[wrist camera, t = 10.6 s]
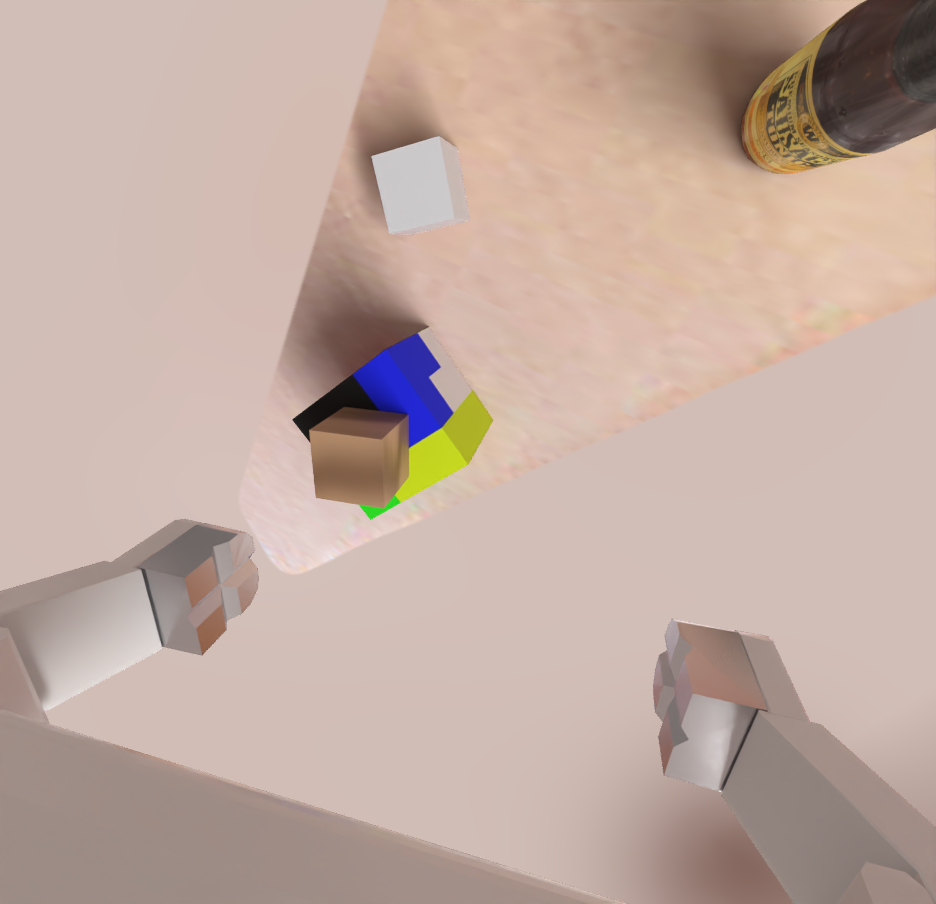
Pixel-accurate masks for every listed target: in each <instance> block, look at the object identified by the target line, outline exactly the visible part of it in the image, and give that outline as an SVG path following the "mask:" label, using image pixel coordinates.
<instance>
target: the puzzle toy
mask: <svg viewBox="0 0 936 904" xmlns="http://www.w3.org/2000/svg"><path fill="white" fill-rule="evenodd" d="M343 407H350V408H359V409H367V410H375V411H384V412H392V413H400V414H409V477H408V479H407V480H406V481H405V482H404V484H403V485H402V486H401V488H400V489H399V490H398V491H397V493H396V494H395V495H394V497H393V498H392V499H391V500H390V502H389V503H388V504H387V505H386V507H385V508H384V509H383V508H377V507H371V506H364V505H359V506H360V507H361V508H362V509H363V511H364V512H365V513H366V514H367V516H368V517H369V518H370V520H371V519H373V518H375V517H376V516H378V515H380V514H382V513H384V512H385V511H387V510H389V509H391V508H392V507H394V506H396V505H398V504H400V503H401V502H403V501H405V500H407V499H408V498H410V497H412V496H414V495H415V494H417V493H419V492H421V491H423V490H424V489H426V488H428V487H430V486H431V485H433V484H435V483H437V482H438V481H440V480H442V479H444V478H446V477H447V476H449V475H451V474H453V473H454V472H456V471H458V470H460V469H461V468H463V467H465V466H467V465H468V464H469V462H470V461H471V459H472V457H473V455H474V453H475V452H476V450H477V448H478V446H479V445H480V443H481V441H482V439H483V437H484V436H485V434H486V432H487V430H488V429H489V427H490V425H491V423H492V422H493V419H492V418H491V416H490V415H489V413H488V412H487V410H486V409H485V407H484V406H483V404H482V403H481V401H480V400H479V398H478V397H477V396H476V394H475V393H474V391H473V390H472V388H471V387H470V385H469V384H468V382H467V381H466V379H465V378H464V376H463V375H462V374H461V372H460V371H459V369H458V368H457V366H456V365H455V363H454V362H453V360H452V359H451V357H450V356H449V354H448V353H447V352H446V350H445V349H444V347H443V346H442V344H441V343H440V341H439V340H438V338H437V337H436V335H435V334H434V332H433V331H432V330H431V328H430V327H428V328H426V329H424V330H422V331H420V332H418V333H416V334H414V335H412V336H410V337H408V338H407V339H405V340H403V341H401V342H399V343H397V344H395V345H393V346H391V347H389V348H387V349H386V350H384V351H383V352H382V353H380V354H379V355H378V356H376V357H375V358H374V359H372V360H371V361H370V362H368V363H367V364H366V365H364V366H363V367H362V368H360V369H359V370H358V371H356V372H355V373H354V374H352V375H351V376H350V377H348V378H347V379H346V380H344V381H343V382H342V383H340V384H339V385H338V386H336V387H335V388H334V389H332V390H331V391H330V392H328V393H327V394H326V395H324V396H323V397H322V398H320V399H319V400H318V401H316V402H315V403H314V404H312V405H311V406H310V407H308V408H307V409H306V410H304V411H303V412H302V413H300V414H299V415H298V416H296V417H295V418H294V419H292V420H293V421H294V423H295V424H296V425H297V426H298V428H299V429H300V430H301V432H302V433H303V434H304V435H305V437H306V438H307V439H308V440H309V442H310V433H309V430H310V429H312V428H313V427H315V426H316V425H318V424H319V423H321V422H322V421H324V420H325V419H327V418H328V417H330V416H331V415H333V414H334V413H336V412H337V411H339V410H340V409H342V408H343Z"/></svg>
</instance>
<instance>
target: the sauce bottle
mask: <svg viewBox="0 0 936 904" xmlns="http://www.w3.org/2000/svg"><path fill="white" fill-rule="evenodd" d="M935 128H936V0H866V1H864V2H862V3H861V4H859V5H858V6H856V7H854V8H853V9H851V10H850V11H849V12H847V13H846V14H845V15H844V16H842V17H841V18H840V19H838V20H837V21H836V22H834V23H833V24H832V25H831V26H829V27H828V28H827V29H825V30H824V31H823V32H822V33H820V34H819V35H818V36H817V37H815V38H814V39H813V40H812V41H810V42H809V43H808V44H806V45H805V46H804V47H803V48H801V49H800V50H799V51H798V52H797V53H796V54H794V55H793V56H792V57H790V58H789V59H788V60H787V61H785V62H784V63H783V64H782V65H780V66H779V67H778V68H777V69H775V70H774V71H773V72H772V73H771V74H770V75H769V76H768V77H767V78H766V79H765V80H764V81H763V82H762V84H761V85H760V86H759V88H758V89H757V90H756V91H755V92H754V94H753V96H752V98H751V100H750V102H749V104H748V105H747V108H746V110H745V114H744V116H743V118H742V123H741V133H742V142H743V148H744V150H745V152H746V153H747V156H748V159H750V160H751V161H752V162H753V163H755V164H756V165H758V166H760V167H761V168H762V169H765V170H767V171H770V172H772V173H777V174H778V173H779V174H791V173H798V172H803V171H807V170H810V169H814V168H818V167H822V166H826V165H830V164H833V163H837V162H841V161H845V160H849V159H853V158H857V157H862V156H867V155H870V154H874V153H878V152H882V151H885V150H887V149H889V148H892V147H894V146H896V145H899V144H901V143H903V142H905V141H908V140H910V139H912V138H914V137H917V136H919V135H921V134H924V133H926V132H928V131H930V130H933V129H935Z"/></svg>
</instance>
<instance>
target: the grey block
mask: <svg viewBox="0 0 936 904" xmlns="http://www.w3.org/2000/svg"><path fill="white" fill-rule="evenodd" d="M371 157H372V162H373V166H374V170H375V174H376V179H377V183H378V187H379V192H380V196H381V200H382V204H383V209H384V213H385V217H386V222H387V226H388V230H389V234H402V235H414V234H418V233H422V232H426V231H430V230H434V229H439V228H443V227H447V226H451V225H455V224H459V223H464V222H468V221H470V215H469V209H468V204H467V198H466V192H465V187H464V181H463V175H462V170H461V164H460V159H459V153H458V148H456V147H455V146H453V145H452V144H450V143H449V142H447V141H446V140H444V139H443V138H442V137H440V136H437V137H434V138H430V139H427V140H424V141H420V142H417V143H414V144H410V145H407V146H404V147H400V148H397V149H394V150H390V151H387V152H384V153H380V154H377V155H373V156H371Z"/></svg>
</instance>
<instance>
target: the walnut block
mask: <svg viewBox="0 0 936 904" xmlns="http://www.w3.org/2000/svg"><path fill="white" fill-rule="evenodd" d="M309 433H310V443H311V453H312V463H313V473H314V483H315V493H316V498H321V499H327V500H333V501H340V502H346V503H352V504H358V505H364V506H371V507H377V508H383V509H384V508H385V507H386V505H387V504H388V503H389V502H390V500H391V499H392V498H393V497H394V495H395V494H396V493H397V491H398V490H399V489H400V488H401V486H402V485H403V484H404V482H405V481H406V480H407V479H408V477H409V414H400V413H392V412H384V411H375V410H367V409H359V408H350V407H343V408H342V409H340V410H339V411H337V412H336V413H334V414H333V415H331V416H330V417H328V418H327V419H325V420H324V421H322V422H321V423H319V424H318V425H316V426H315V427H313V428H312V429H310V430H309Z"/></svg>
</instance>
